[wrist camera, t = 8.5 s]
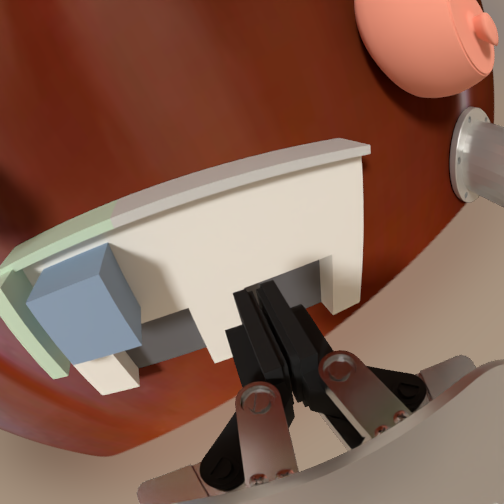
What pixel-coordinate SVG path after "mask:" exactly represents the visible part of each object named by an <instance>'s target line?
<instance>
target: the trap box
mask: <svg viewBox="0 0 504 504" xmlns="http://www.w3.org/2000/svg"><path fill="white" fill-rule="evenodd" d="M367 154H371V152H370V145H368V144H364V143H360V142H355V141H351V140H346V139H342V138H336V139H330V140H325V141H320V142H314V143H309V144H304V145H299V146H295V147H290V148H286V149H281V150H277V151H272V152H268V153H264V154H260V155H256V156H252V157H248V158H244V159H240V160H237V161H233V162H229V163H226V164H222V165H219V166H215V167H212V168H208V169H205V170H202V171H198V172H195V173H192V174H189V175H185V176H182V177H179V178H176V179H173V180H170V181H167V182H164V183H161V184H158V185H156V186H153V187H150V188H147V189H144V190H142V191H139V192H136V193H133V194H131V195H128V196H126V197H123V198H120V199H118V200H115V201H113V202H110V203H108V204H105V205H103V206H100V207H98V208H96V209H93V210H91V211H89V212H86V213H84V214H82V215H79V216H77V217H75V218H73V219H70V220H68V221H66V222H64V223H62V224H60V225H57V226H55V227H53V228H51V229H49V230H47V231H45V232H43V233H41V234H39V235H37V236H35V237H33V238H31V239H29V240H27V241H25V242H23V243H21V244H20V245H18V246H16V247H15V248H14V249H13V250H12V251H11V253H10V254H9V255H8V256H7V258H6V259H5V260H4V261H3V263H2V264H1V265H0V316H1V318H2V319H3V321H4V322H5V323H6V325H7V326H8V327H9V329H10V330H11V331H12V333H13V334H14V335H15V336H16V338H17V339H18V340H19V341H20V343H21V344H22V345H23V346H24V348H25V349H26V350H27V351H28V352H29V353H30V355H31V356H32V357H33V358H34V359H35V360H36V361H37V362H38V364H39V365H40V366H41V367H42V368H43V369H44V370H45V371H46V372H47V373H48V374H49V375H50V376H51V377H52V378H53V379H57V378H61V377H66V376H69V369H70V361H69V360H68V358H67V357H66V356H65V355H64V354H63V353H62V351H61V350H60V349H59V348H58V347H57V345H56V344H55V343H54V342H53V340H52V339H51V338H50V337H49V335H48V334H47V333H46V331H45V330H44V329H43V327H42V326H41V325H40V323H39V322H38V321H37V319H36V318H35V316H34V315H33V314H32V312H31V311H30V309H29V308H28V306H27V305H26V301H27V299H28V297H29V295H30V293H31V291H32V289H33V287H34V285H35V283H36V282H37V280H38V278H39V276H40V274H41V272H42V270H43V269H45V268H48V267H50V266H52V265H54V264H57V263H59V262H61V261H64V260H66V259H68V258H71V257H73V256H75V255H78V254H80V253H83V252H85V251H87V250H90V249H92V248H95V247H97V246H100V245H102V244H105V243H107V242H108V244H109V246H110V248H111V250H112V252H113V254H114V256H115V259H116V261H117V263H118V265H119V267H120V269H121V271H122V273H123V275H124V277H125V279H126V281H127V283H128V285H129V286H130V288H131V290H132V292H133V294H134V296H135V298H136V300H137V301H138V303H139V305H140V307H141V333H142V346H139V347H135V348H132V349H129V350H126V351H122V352H119V353H115V354H112V355H109V356H105V357H102V358H98V359H94V360H91V361H87V362H84V363H80V364H76V365H74V367H75V368H76V369H77V370H78V371H79V372H80V373H81V374H82V375H83V376H84V377H85V378H86V379H87V380H88V381H89V382H90V383H91V384H92V385H93V386H94V387H95V388H96V389H97V390H98V391H99V392H100V393H101V394H102V395H106V394H111V393H115V392H119V391H123V390H127V389H131V388H135V387H139V386H140V383H139V368H141V367H145V366H148V365H152V364H155V363H158V362H162V361H165V360H168V359H171V358H174V357H177V356H181V355H184V354H187V353H190V352H193V351H196V350H199V349H202V348H205V347H207V348H208V350H209V352H210V354H211V356H212V358H213V360H214V362H215V363H217V362H220V361H223V360H226V359H229V358H231V357H233V356H232V352H231V349H230V346H229V343H228V339H227V336H226V333H225V330H227V329H230V328H233V327H236V326H239V325H242V322H241V319H240V316H239V313H238V309H237V306H236V303H235V300H234V296H233V293H234V292H237V291H240V290H243V289H246V290H247V292H249V291H253V294H254V296H255V298H256V300H257V302H258V297H257V293H256V289H258V288H260V284H261V283H264V282H267V281H270V280H274V282H275V283H276V285H277V287H278V288H279V290H280V292H281V293H282V295H283V297H284V298H285V300H286V302H287V303H288V305H289V307H290V308H291V307H294V306H297V305H299V304H302V305H303V306H304V307H305V309H306V308H308V307H310V306H313V305H315V304H317V303H319V302H322V303H323V304H324V305H325V307H326V308H327V309H328V310H329V311H330V312H331V313H332V315H334V314H336V313H338V312H340V311H343V310H345V309H347V308H349V307H351V306H353V305H355V304H357V303H359V302H360V292H361V278H362V259H363V177H362V158H361V156H362V155H367ZM258 304H259V302H258Z"/></svg>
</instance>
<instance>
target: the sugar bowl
mask: <svg viewBox="0 0 504 504" xmlns="http://www.w3.org/2000/svg"><path fill="white" fill-rule="evenodd" d="M354 8H355V18H356V23H357V27H358V30H359V33H360V36H361V38H362V41H363V43H364V45H365V47H366V49H367V50H368V52H369V54H370V55H371V57H372V58H373V60H374V61H375V62H376V64H377V65H378V66H379V67H380V69H381V70H382V71H383V72H384V73H385V74H386V75H387V76H388V77H389V78H390V79H391V80H392V81H393V82H394V83H395V84H396V85H397V86H399V87H400V88H401V89H403V90H405V91H406V92H408V93H410V94H412V95H415V96H418V97H423V98H440V97H446V96H451V95H455V94H458V93H461V92H463V91H465V90H467V89H468V88H470V87H472V86H473V85H475V84H477V83H478V82H480V81H481V80H483V79H484V78H485V77H486V76H487V75H488V74H489V73H490V72H491V70H492V68H493V65H494V45H496V46H497V45H498V32H497V29H496V26H495V24H494V22H493V20H492V19H491V17H490V16H489V14H487V13H483V11H482V9H481V8H480V6H479V4H478V3H477V1H476V0H354Z"/></svg>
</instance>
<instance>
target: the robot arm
mask: <svg viewBox="0 0 504 504" xmlns="http://www.w3.org/2000/svg"><path fill="white" fill-rule="evenodd" d="M450 177H451V183H452V187H453V190H454V192H455V194H456V196H457V197H458V198H459V199H461V200H463V201H465V202H467V203H469V202H473V201H475V200H476V199H477V198H478V197H479V196H482V197H484V198H486V199H488V200H490V201H492V202H494V203H496V204H498V205H500V206H502V207H504V127H502V126H499V125H495V124H492V123H490V121H489V119H488V117H487V115H486V114H485V112H484V111H483V110H482V109H480V108H476V107H468V108H466V109H465V110H464V111H463V112H462V114H461V115H460V116H459V118H458V121H457V123H456V126H455V129H454V132H453V137H452V141H451V149H450ZM256 293H257V297H258V302H259V304H258V302H257V300H256V298H255V296H254V294H253V291H249V292H247V290H246V289H243V290H240V291H237V292H234V293H233V296H234V300H235V303H236V306H237V309H238V313H239V316H240V319H241V322H242V325H239V326H236V327H233V328H230V329H227V330H225V333H226V336H227V339H228V343H229V346H230V349H231V352H232V356H233V359H234V362H235V365H236V368H237V372H238V375H239V378H240V381H241V384H242V387H243V388H242V389H241V390H240V391H239V392H238V394H237V396H236V401H235V406H236V412H235V413H234V415H233V417H232V418H231V420H230V421H229V423H228V424H227V425H226V427H225V428H224V430H223V431H222V433H221V434H220V436H219V437H218V438H217V440H216V441H215V443H214V444H213V446H212V447H211V448H210V450H209V451H208V453H207V454H206V455H205V457H204V458H203V460H202V462H199V463H197V464H195V465H188V466H185V467H183V468H180V469H178V470H175V471H173V472H170V473H167V474H165V475H162V476H159V477H156V478H153V479H150V480H147V481H145V482H143V483H142V484H141V485H140V486H139V488H138V491H137V496H138V500H139V502H140V504H504V360H495V361H491V362H488V363H486V364H483V365H481V366H479V367H477V368H476V367H475V365H474V363H473V362H472V360H471V359H470V358H468V357H466V356H463V355H459V356H455V357H453V358H451V359H448V360H446V361H444V362H441V363H439V364H436V365H434V366H431V367H429V368H426V369H424V370H421V371H420V373H419V374H416V375H413V374H409V373H403V372H397V371H391V370H385V369H380V368H374V367H369V366H365V364H364V363H363V362H362V361H360V359H359V358H358V357H357V356H355V355H354V354H352V353H350V352H347V351H340V350H339V351H333V350H332V348H331V347H330V345H329V344H328V342H327V341H326V339H325V338H324V336H323V335H322V333H321V332H320V330H319V329H318V327H317V326H316V324H315V322H314V321H313V319H312V318H311V316H310V315H309V313H308V312H307V310H306V309H305V307H304V306H303V305H302V304H299V305H297V306H294V307H291V308H290V307H289V305H288V303H287V302H286V300H285V298H284V297H283V295H282V293H281V292H280V290H279V288H278V287H277V285H276V283H275V282H274V280H270V281H267V282H264V283H261V284H260V288H258V289H256ZM292 392H293V394H294V396H295V398H296V400H297V402H301V401H303V403H304V405H305V407H307V406H309V408H310V410H312V411H315V412H318V413H319V414H320V415H321V417H322V418H323V420H324V421H325V422H326V423H327V425H328V426H329V427H330V429H331V430H332V431H333V433H334V434H335V435H336V436H337V438H338V439H339V440H340V441H341V442H342V444H343V445H344V446H345V448H346V449H347V450H348V452H346V453H344V454H341V455H339V456H337V457H335V458H333V459H331V460H328V461H326V462H324V463H321V464H319V465H317V466H314V467H311V468H309V469H306V470H304V471H301V472H299V471H298V466H297V462H296V458H295V454H294V449H293V445H292V441H291V437H290V432H289V427H290V425H291V423H292V421H293V419H294V417H295V416H294V410H293V404H294V401H293V395H292Z"/></svg>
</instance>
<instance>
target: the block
mask: <svg viewBox="0 0 504 504" xmlns="http://www.w3.org/2000/svg"><path fill="white" fill-rule="evenodd" d="M26 305H27V306H28V308H29V309H30V311H31V312H32V314H33V315H34V316H35V318H36V319H37V321H38V322H39V323H40V325H41V326H42V327H43V329H44V330H45V331H46V333H47V334H48V335H49V337H50V338H51V339H52V340H53V342H54V343H55V344H56V345H57V347H58V348H59V349H60V350H61V351H62V353H63V354H64V355H65V356H66V357H67V358H68V360H69V361H70V362H71V363H72V364H73V365H76V364H80V363H84V362H87V361H91V360H94V359H98V358H102V357H105V356H109V355H112V354H115V353H119V352H122V351H126V350H129V349H132V348H135V347H139V346H142V333H141V307H140V305H139V303H138V301H137V300H136V298H135V296H134V294H133V292H132V290H131V288H130V286H129V285H128V283H127V281H126V279H125V277H124V275H123V273H122V271H121V269H120V267H119V265H118V263H117V261H116V259H115V256H114V254H113V252H112V250H111V248H110V246H109V244H108V242H107V243H105V244H102V245H100V246H97V247H95V248H92V249H90V250H87V251H85V252H83V253H80V254H78V255H75V256H73V257H71V258H68V259H66V260H64V261H61V262H59V263H57V264H54V265H52V266H50V267H48V268H45V269H43V270H42V272H41V274H40V276H39V278H38V280H37V282H36V283H35V285H34V287H33V289H32V291H31V293H30V295H29V297H28V299H27V301H26Z"/></svg>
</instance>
